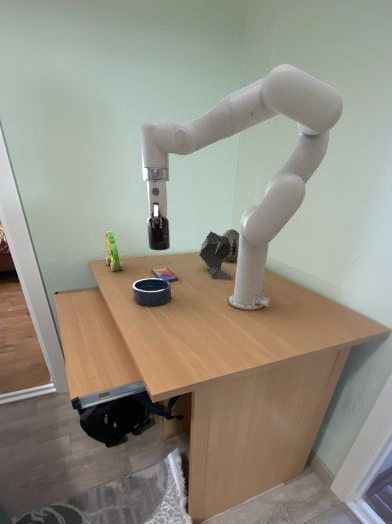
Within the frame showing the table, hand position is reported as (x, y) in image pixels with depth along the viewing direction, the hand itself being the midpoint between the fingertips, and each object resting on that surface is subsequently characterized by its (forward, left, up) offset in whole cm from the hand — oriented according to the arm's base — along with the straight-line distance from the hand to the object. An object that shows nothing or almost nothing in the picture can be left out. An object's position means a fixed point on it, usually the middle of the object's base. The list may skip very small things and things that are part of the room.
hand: (158, 238), depth 96 cm
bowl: (+2, +2, -21) cm, 22 cm away
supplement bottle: (0, 0, -3) cm, 3 cm away
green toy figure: (+43, -9, -22) cm, 49 cm away
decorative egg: (+12, -57, -22) cm, 62 cm away
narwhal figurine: (+5, -37, -22) cm, 43 cm away
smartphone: (+18, -18, -21) cm, 33 cm away
